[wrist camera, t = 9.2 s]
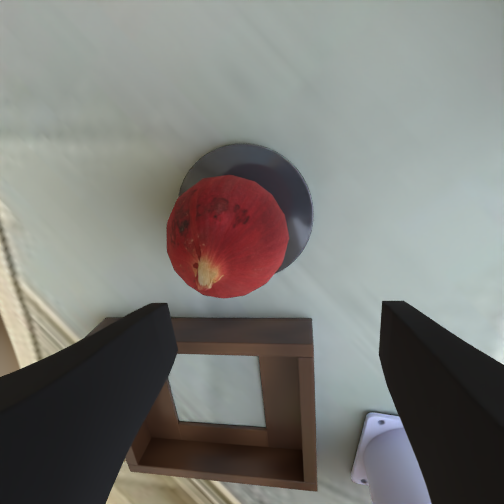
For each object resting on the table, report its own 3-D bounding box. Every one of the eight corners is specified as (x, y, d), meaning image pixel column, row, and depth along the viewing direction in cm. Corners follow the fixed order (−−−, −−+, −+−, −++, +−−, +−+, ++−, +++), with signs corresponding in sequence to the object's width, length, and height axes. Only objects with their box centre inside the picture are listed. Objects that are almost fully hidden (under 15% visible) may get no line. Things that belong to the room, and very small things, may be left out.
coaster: (321, 147, 16) (322, 147, 15) (305, 281, 19) (305, 286, 19) (177, 140, 17) (172, 140, 17) (183, 268, 20) (180, 272, 20)
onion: (177, 203, 18) (92, 249, 10) (252, 146, 16) (213, 154, 9) (232, 276, 19) (191, 363, 12) (308, 231, 17) (315, 301, 10)
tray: (311, 318, 20) (313, 344, 18) (315, 455, 25) (317, 492, 22) (105, 317, 23) (81, 339, 20) (145, 441, 28) (130, 472, 25)
